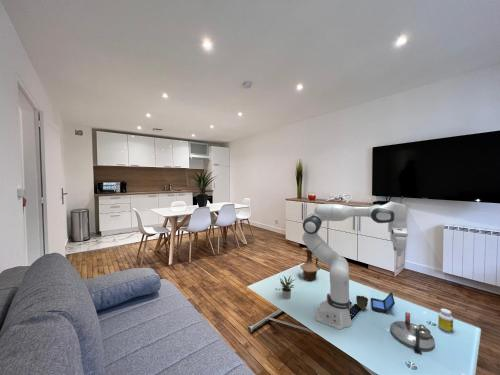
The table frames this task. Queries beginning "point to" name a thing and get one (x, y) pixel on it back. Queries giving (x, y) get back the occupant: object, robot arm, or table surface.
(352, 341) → the table surface
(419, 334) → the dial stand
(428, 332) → the cover
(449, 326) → the pill bottle
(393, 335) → the turntable base
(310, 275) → the pitcher
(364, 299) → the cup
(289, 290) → the house plant
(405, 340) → the turntable
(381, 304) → the handheld game console
